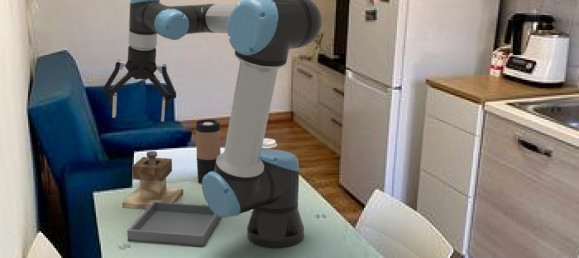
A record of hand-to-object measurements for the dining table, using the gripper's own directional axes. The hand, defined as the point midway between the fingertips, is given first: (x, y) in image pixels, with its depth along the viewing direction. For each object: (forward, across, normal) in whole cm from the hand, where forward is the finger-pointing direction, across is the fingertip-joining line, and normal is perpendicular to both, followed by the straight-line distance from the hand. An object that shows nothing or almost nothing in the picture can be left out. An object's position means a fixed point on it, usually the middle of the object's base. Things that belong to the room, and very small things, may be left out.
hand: (138, 117), depth 182 cm
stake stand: (+26, -6, +2) cm, 26 cm away
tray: (+22, -13, +23) cm, 34 cm away
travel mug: (+26, -23, -13) cm, 37 cm away
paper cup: (+24, -41, -11) cm, 48 cm away
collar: (+18, -5, +1) cm, 18 cm away
